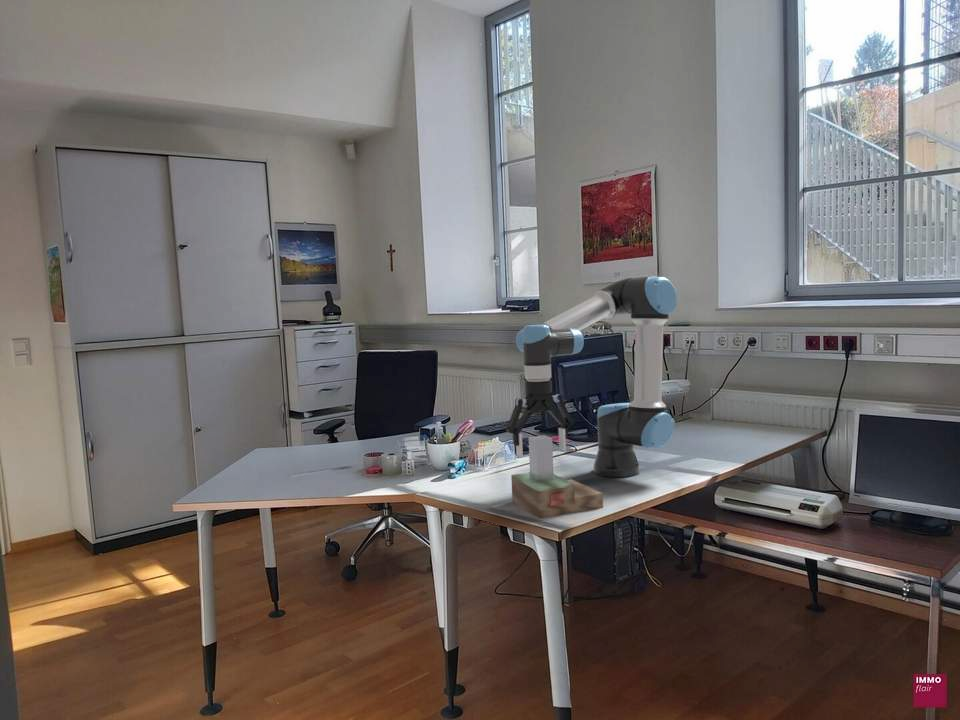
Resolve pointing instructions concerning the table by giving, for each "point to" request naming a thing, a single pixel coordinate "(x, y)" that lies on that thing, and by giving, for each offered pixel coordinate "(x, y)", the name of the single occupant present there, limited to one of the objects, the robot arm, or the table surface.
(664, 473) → the table surface
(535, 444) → the steel column
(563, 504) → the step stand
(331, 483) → the table surface
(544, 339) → the robot arm
